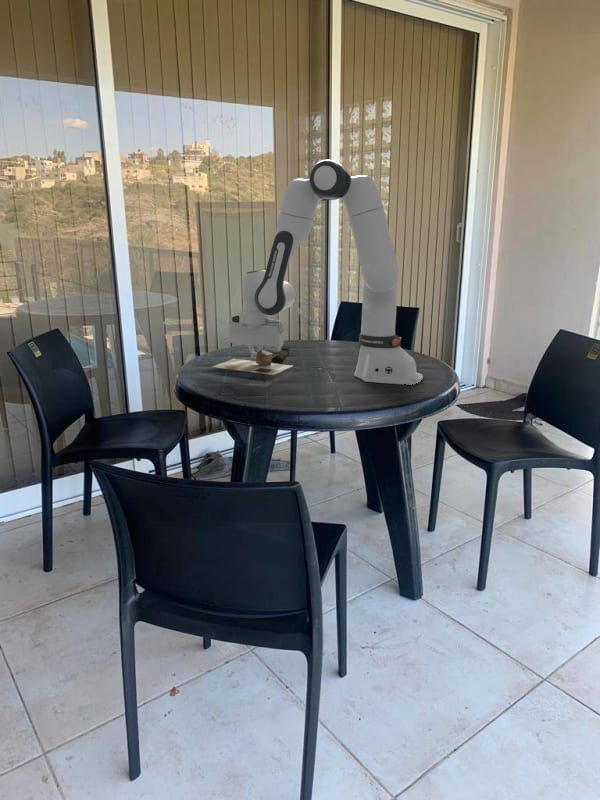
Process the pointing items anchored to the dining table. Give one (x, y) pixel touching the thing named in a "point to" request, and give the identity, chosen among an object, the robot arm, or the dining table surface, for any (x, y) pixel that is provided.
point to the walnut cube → (264, 358)
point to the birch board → (252, 366)
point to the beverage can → (272, 349)
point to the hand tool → (281, 355)
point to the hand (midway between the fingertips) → (255, 357)
